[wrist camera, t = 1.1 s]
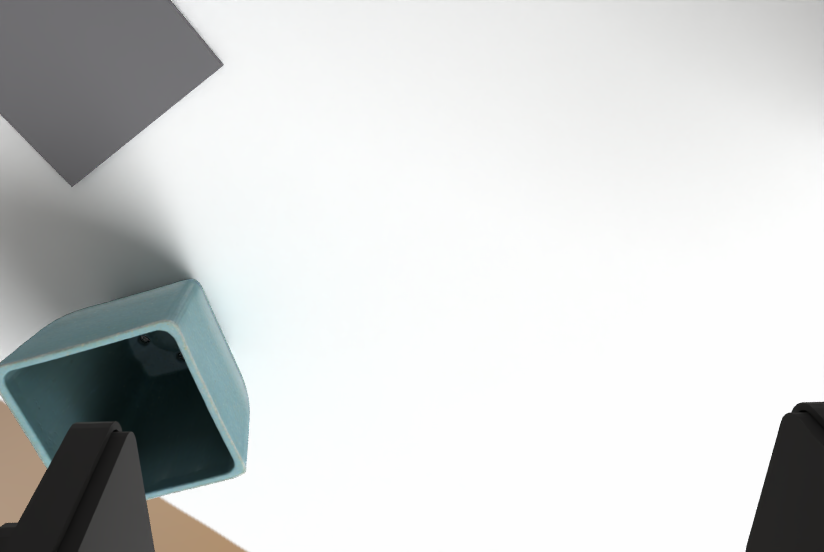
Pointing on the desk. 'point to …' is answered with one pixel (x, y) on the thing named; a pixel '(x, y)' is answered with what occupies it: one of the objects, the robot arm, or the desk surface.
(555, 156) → the desk surface
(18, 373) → the flower pot
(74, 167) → the mat
